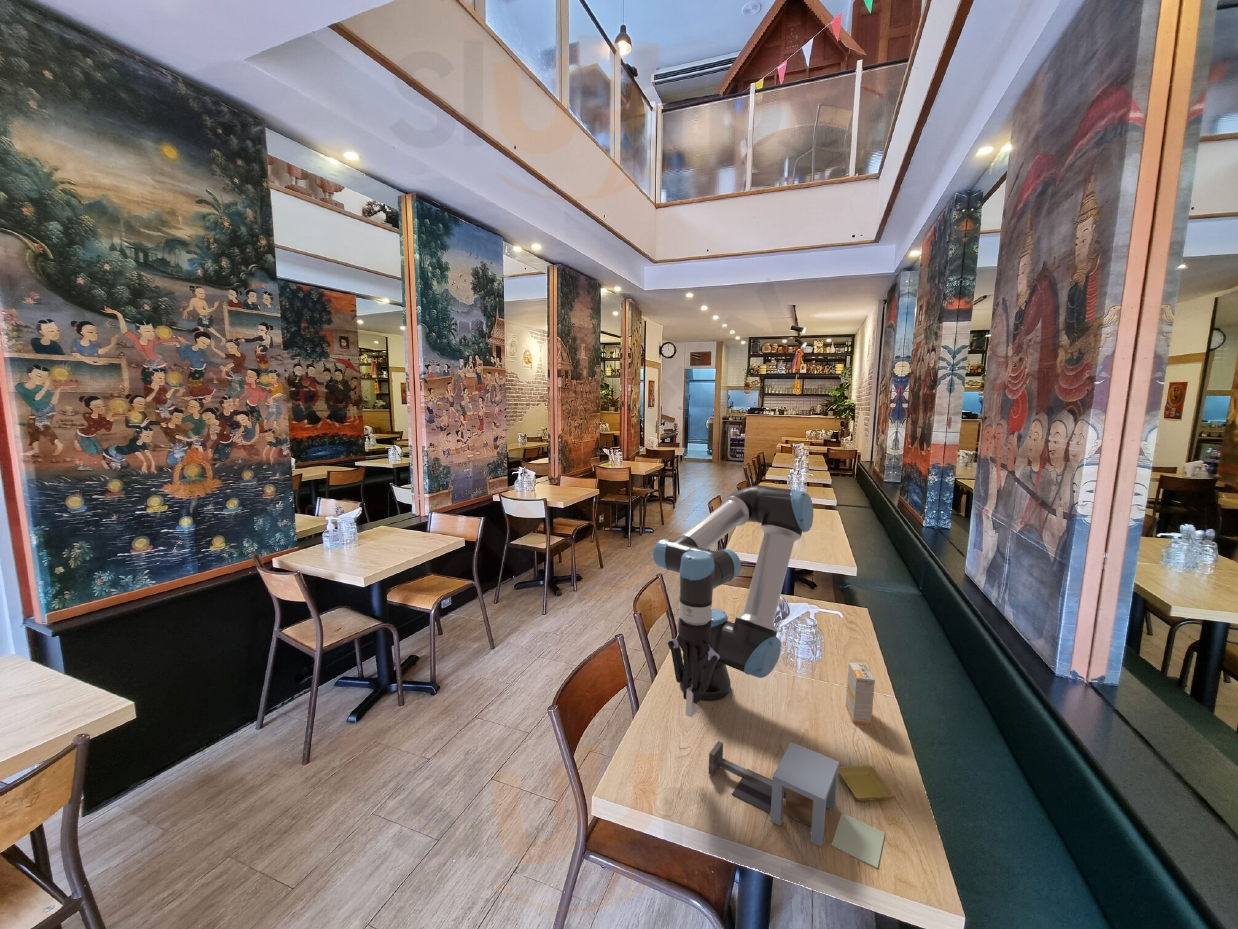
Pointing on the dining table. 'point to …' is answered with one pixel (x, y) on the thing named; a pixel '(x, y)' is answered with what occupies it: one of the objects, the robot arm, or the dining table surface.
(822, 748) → the dining table surface
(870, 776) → the yellow tray
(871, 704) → the supplement box
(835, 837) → the pad
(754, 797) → the mat
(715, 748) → the push rod
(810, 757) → the tunnel
